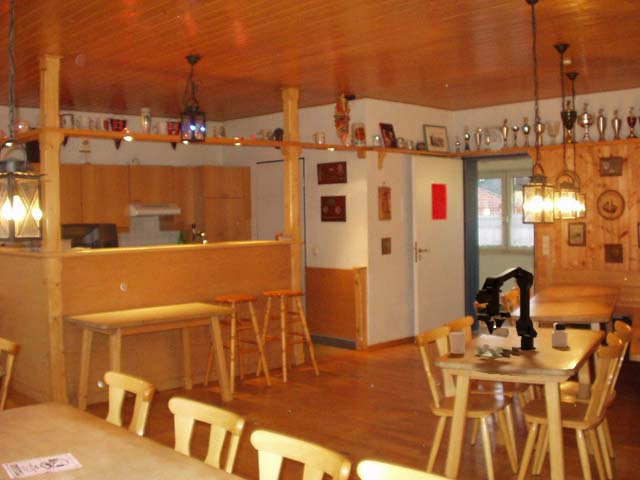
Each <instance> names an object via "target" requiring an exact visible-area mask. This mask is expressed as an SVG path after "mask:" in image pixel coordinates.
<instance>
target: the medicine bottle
mask: <svg viewBox="0 0 640 480" xmlns="http://www.w3.org/2000/svg"><path fill="white" fill-rule="evenodd" d="M567 346H568V331H566V324H565V323H563V322H554V323H553V331H552V332H551V347H552V348H567Z"/></svg>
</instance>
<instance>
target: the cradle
mask: <svg viewBox="0 0 640 480" xmlns="http://www.w3.org/2000/svg"><path fill="white" fill-rule="evenodd" d="M474 349H475V350H476V351H477V352H476V353H474V355H476V356H481V357H487V358H490V359H496V358H500V357H504V356H503V355H500V353H501V352H503V346H502V347H501V346H497V347H496V348H495V350H494V349H493V348H490V345H489V344H483V345H482V348H481V347H480V346H477V345H475V346H474Z"/></svg>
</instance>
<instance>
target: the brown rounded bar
mask: <svg viewBox="0 0 640 480" xmlns="http://www.w3.org/2000/svg"><path fill="white" fill-rule="evenodd" d="M479 333H480V334H481V335H486V336H493V337H501V338H508V337H509V335H510V331H509V328H508V327H507V328H506V327H496V326H495V325H494V326H493V332H492V334H490V333H489V331H488V328H487V325H486V324H481V325H480V327H479Z"/></svg>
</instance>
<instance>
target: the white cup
mask: <svg viewBox="0 0 640 480" xmlns="http://www.w3.org/2000/svg"><path fill="white" fill-rule="evenodd" d="M449 345H450V351H451V352H450V353H451V354H453V355H462V354H463V355H464V354H465V349H466V332H462V331H454V332H453V331H452V332H450V333H449Z"/></svg>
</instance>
